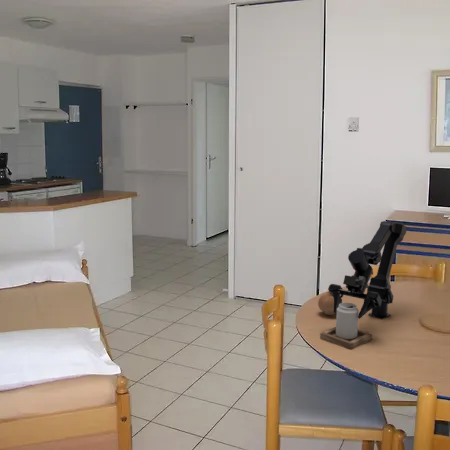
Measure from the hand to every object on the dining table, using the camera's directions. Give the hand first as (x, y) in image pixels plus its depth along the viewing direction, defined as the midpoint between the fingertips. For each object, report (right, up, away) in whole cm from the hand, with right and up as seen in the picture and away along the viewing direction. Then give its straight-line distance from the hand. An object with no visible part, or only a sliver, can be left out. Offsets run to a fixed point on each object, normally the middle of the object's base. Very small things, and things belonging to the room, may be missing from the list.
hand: (346, 315), depth 192 cm
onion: (-1, -4, +26) cm, 27 cm away
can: (0, -8, +2) cm, 9 cm away
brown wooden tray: (0, -9, +2) cm, 9 cm away
